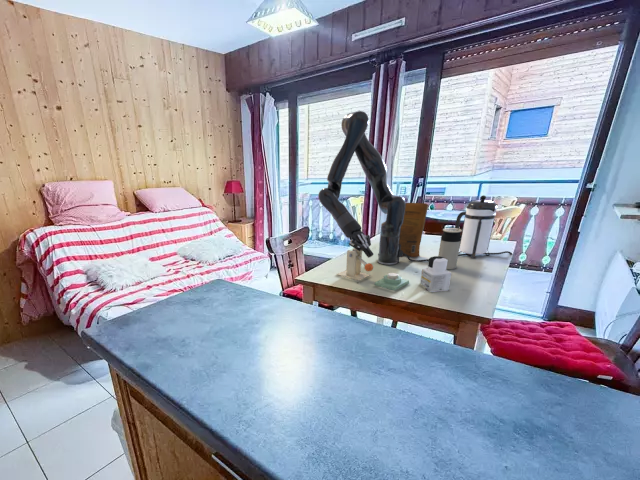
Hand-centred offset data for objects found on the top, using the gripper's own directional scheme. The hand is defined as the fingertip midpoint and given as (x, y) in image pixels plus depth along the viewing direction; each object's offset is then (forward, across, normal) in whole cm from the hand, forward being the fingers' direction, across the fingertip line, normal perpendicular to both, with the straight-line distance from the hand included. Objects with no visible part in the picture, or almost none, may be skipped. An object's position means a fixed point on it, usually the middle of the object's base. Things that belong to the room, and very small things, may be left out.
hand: (371, 256), depth 140 cm
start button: (+13, +1, -1) cm, 13 cm away
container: (+25, +11, -8) cm, 28 cm away
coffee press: (+19, +67, -2) cm, 70 cm away
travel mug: (+20, +39, -2) cm, 44 cm away
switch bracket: (+2, 0, +14) cm, 14 cm away
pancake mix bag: (+2, +45, +15) cm, 48 cm away
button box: (+15, +1, +1) cm, 15 cm away
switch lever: (-1, 0, +7) cm, 7 cm away
